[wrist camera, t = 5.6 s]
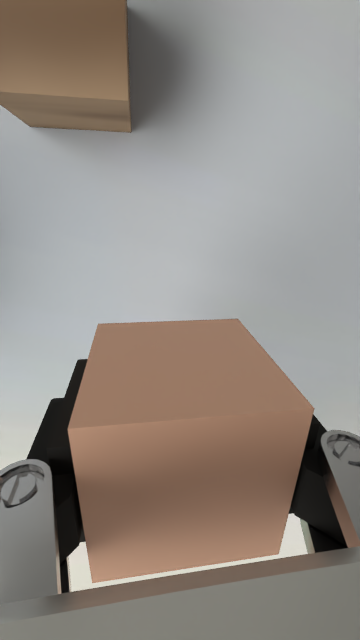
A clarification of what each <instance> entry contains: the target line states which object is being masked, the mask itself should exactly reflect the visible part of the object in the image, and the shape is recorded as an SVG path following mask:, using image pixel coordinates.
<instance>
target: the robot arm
mask: <svg viewBox="0 0 360 640" xmlns="http://www.w3.org/2000/svg"><path fill="white" fill-rule="evenodd" d="M87 360H88V359H81V360H78V361H77V363H76V366H75V369H74V372H73V374H72V377H71V380H70V383H69V386H68V389H67V391H66V394H65V397H64V398H54V399H52V400H51V402H50V404H49V406H48V409H47V411H46V413H45V416H44V418H43V421H42V423H41V425H40V428H39V430H38V433H37V435H36V437H35V440H34V442H33V445H32V447H31V450H30V452H29V454H28V457H27V459H26V460H22V461H18V462H15V463H13V464H10V465H8V466H7V467H5V468H4V469H2V470H0V640H360V437H359V436H357V435H355V434H352V433H350V432H346V431H341V430H331V431H328V432H327V430H326V429H325V428H324V427H323V426H322V424H321V423H320V422H319V421H318V420H317V418H316V417H315V416H314V415H313V416H312V420H311V424H310V428H309V432H308V436H307V440H306V445H305V449H304V453H303V457H302V461H301V465H300V469H299V473H298V477H297V481H296V485H295V489H294V493H293V497H292V501H291V506H290V510H289V514H291V513H294V514H295V516H297V517H299V518H300V521H301V527H302V531H303V535H304V539H305V544H306V548H307V552H308V554H305V555H299V556H292V557H286V558H280V559H273V560H267V561H260V562H254V563H248V564H241V565H235V566H229V567H222V568H216V569H210V570H204V571H197V572H191V573H185V574H178V575H172V576H166V577H160V578H154V579H148V580H142V581H135V582H129V583H123V584H117V585H111V586H105V587H99V588H93V589H87V590H81V591H74V592H71V581H70V569H69V558H68V556H69V555H70V554H71V553H72V552H73V551H74V550H75V549H76V548H77V547H78V546H79V543H80V542H85V541H86V540H85V534H84V528H83V522H82V515H81V509H80V503H79V497H78V491H77V484H76V478H75V472H74V466H73V459H72V453H71V447H70V441H69V435H68V426H69V422H70V419H71V415H72V412H73V409H74V405H75V402H76V398H77V395H78V391H79V388H80V384H81V381H82V378H83V374H84V371H85V367H86V364H87Z"/></svg>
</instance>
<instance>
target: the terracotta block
mask: <svg viewBox="0 0 360 640" xmlns="http://www.w3.org/2000/svg"><path fill="white" fill-rule="evenodd" d="M313 412H314V408H313V406H312V405H311V404H310V403H309V402H308V400H307V399H306V398H305V397H304V396H303V395H302V393H301V392H300V391H299V390H298V389H297V388H296V386H295V385H294V384H293V383H292V382H291V381H290V379H289V378H288V377H287V376H286V375H285V374H284V372H283V371H282V370H281V369H280V368H279V366H278V365H277V364H276V363H275V362H274V361H273V359H272V358H271V357H270V356H269V355H268V354H267V352H266V351H265V350H264V349H263V348H262V347H261V345H260V344H259V343H258V342H257V341H256V340H255V338H254V337H253V336H252V335H251V334H250V332H249V331H248V330H247V329H246V328H245V327H244V325H243V324H242V323H241V322H240V321H239V320H238V319H221V320H193V321H164V322H136V323H107V324H98V326H97V329H96V333H95V336H94V340H93V343H92V347H91V350H90V353H89V357H88V360H87V364H86V367H85V371H84V374H83V378H82V381H81V384H80V388H79V391H78V395H77V398H76V402H75V405H74V409H73V412H72V415H71V419H70V422H69V426H68V435H69V441H70V447H71V453H72V459H73V466H74V472H75V478H76V484H77V491H78V497H79V503H80V509H81V515H82V522H83V528H84V534H85V540H86V546H87V553H88V559H89V565H90V571H91V577H92V583H96V582H102V581H109V580H115V579H122V578H128V577H135V576H141V575H147V574H154V573H160V572H167V571H173V570H180V569H186V568H193V567H199V566H205V565H212V564H218V563H225V562H231V561H238V560H244V559H251V558H257V557H263V556H270V555H276V554H279V550H280V546H281V542H282V538H283V534H284V530H285V526H286V522H287V518H288V514H289V510H290V506H291V501H292V497H293V493H294V489H295V485H296V481H297V477H298V473H299V469H300V465H301V461H302V457H303V453H304V449H305V445H306V440H307V436H308V432H309V428H310V424H311V420H312V416H313Z"/></svg>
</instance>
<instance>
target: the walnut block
mask: <svg viewBox="0 0 360 640" xmlns="http://www.w3.org/2000/svg"><path fill="white" fill-rule="evenodd" d="M0 105H2V106H3V107H4V108H6V109H7V110H8V111H10V112H11V113H12V114H14V115H15V116H16V117H18V118H19V119H20V120H22V121H23V122H24V123H26V124H27V125H28V126H30V127H44V128H61V129H79V130H96V131H114V132H131V112H130V81H129V50H128V19H127V0H0Z"/></svg>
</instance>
